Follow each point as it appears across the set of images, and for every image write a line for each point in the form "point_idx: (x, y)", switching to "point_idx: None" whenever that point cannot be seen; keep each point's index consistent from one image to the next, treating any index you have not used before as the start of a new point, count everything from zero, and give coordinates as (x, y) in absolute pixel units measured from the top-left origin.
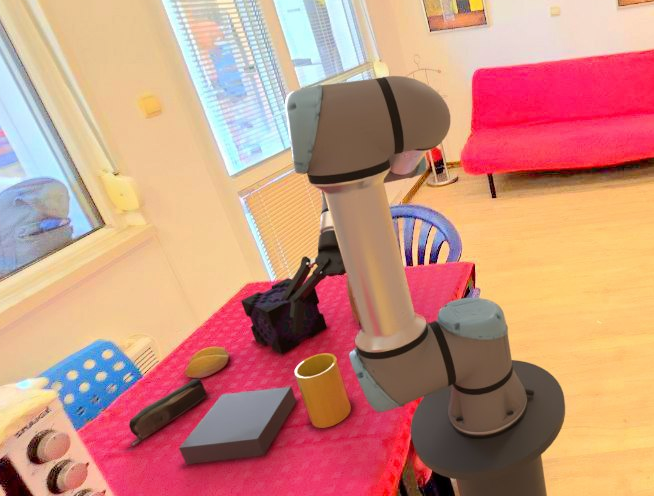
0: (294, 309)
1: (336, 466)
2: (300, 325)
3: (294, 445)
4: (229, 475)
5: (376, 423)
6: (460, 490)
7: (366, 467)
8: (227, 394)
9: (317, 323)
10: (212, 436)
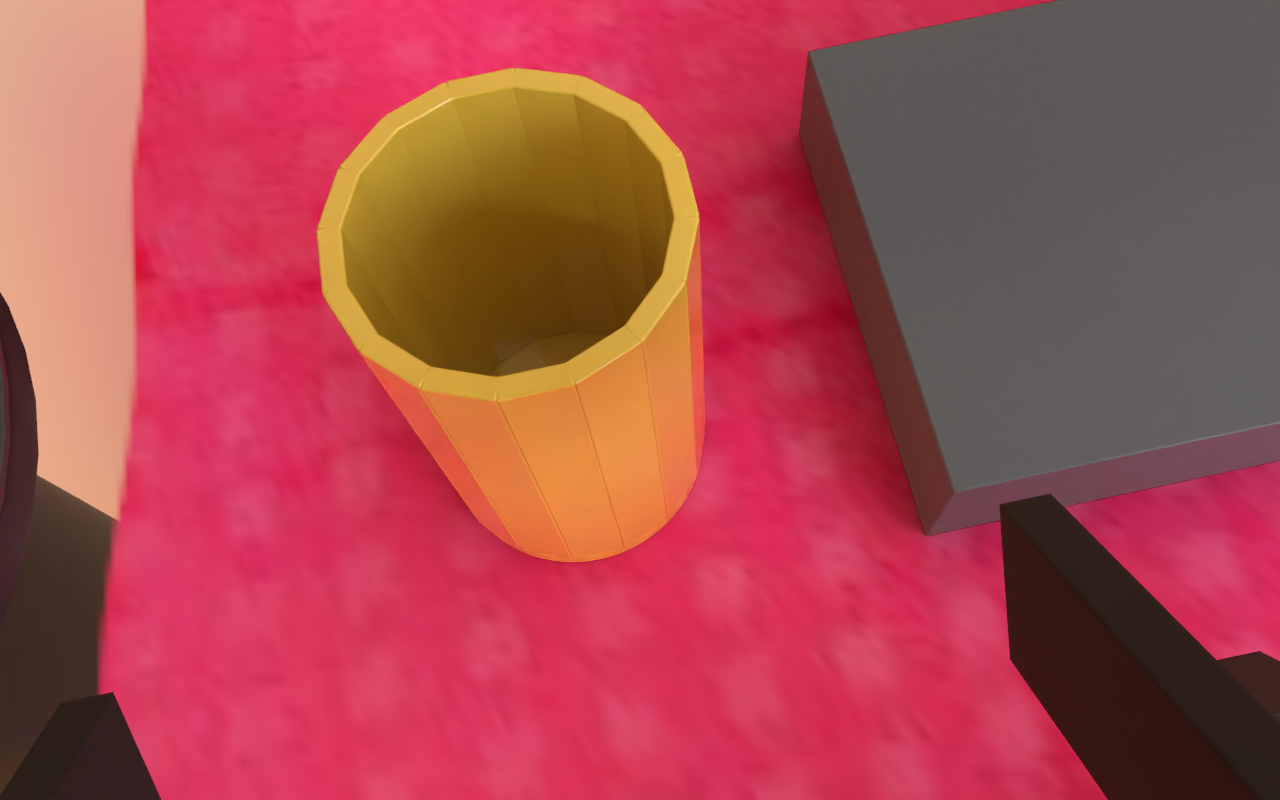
0: (1252, 697)
1: (344, 112)
2: (1058, 671)
3: None
4: (892, 20)
5: (233, 385)
6: (41, 488)
7: (183, 120)
8: None
9: None
10: (1131, 39)
